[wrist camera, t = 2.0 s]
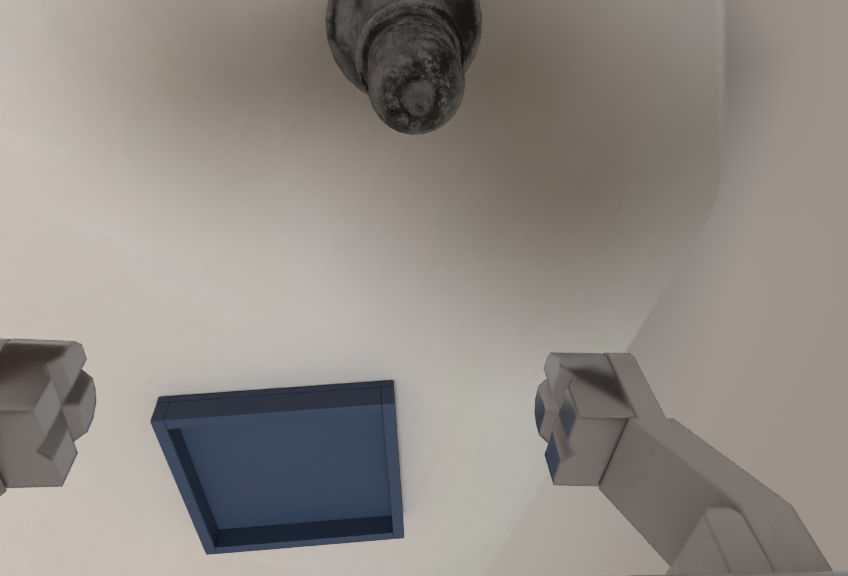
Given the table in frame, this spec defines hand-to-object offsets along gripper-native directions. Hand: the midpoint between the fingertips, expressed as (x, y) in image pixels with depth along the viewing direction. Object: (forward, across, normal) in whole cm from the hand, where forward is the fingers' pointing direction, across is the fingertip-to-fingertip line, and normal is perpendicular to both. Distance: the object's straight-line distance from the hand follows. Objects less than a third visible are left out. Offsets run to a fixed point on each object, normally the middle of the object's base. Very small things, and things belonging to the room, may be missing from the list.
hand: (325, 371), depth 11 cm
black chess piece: (+20, -2, -2) cm, 20 cm away
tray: (+20, +3, +28) cm, 35 cm away
